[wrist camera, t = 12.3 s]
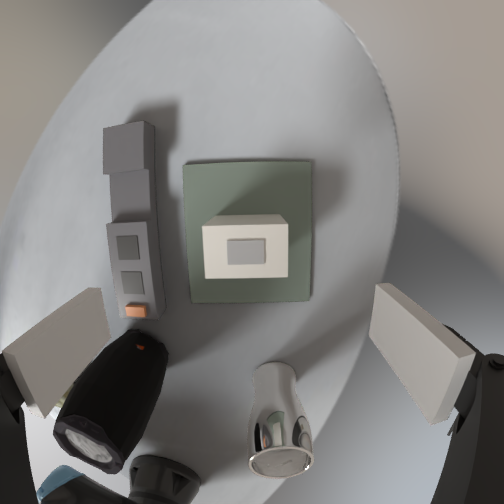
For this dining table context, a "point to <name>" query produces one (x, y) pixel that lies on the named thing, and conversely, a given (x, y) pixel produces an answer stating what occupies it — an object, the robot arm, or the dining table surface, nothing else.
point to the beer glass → (278, 425)
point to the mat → (249, 203)
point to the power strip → (134, 220)
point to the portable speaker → (113, 402)
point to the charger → (245, 246)
